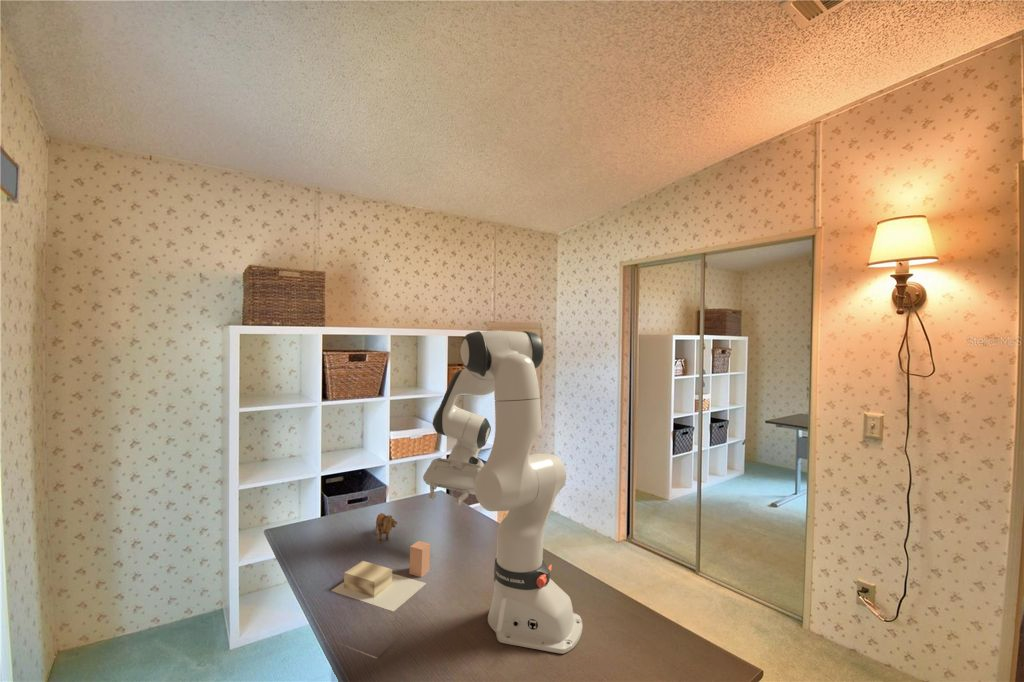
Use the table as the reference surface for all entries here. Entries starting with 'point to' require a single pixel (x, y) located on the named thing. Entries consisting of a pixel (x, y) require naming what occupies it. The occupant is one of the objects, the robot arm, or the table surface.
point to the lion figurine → (384, 526)
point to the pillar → (419, 558)
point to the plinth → (368, 578)
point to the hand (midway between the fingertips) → (444, 501)
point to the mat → (386, 593)
